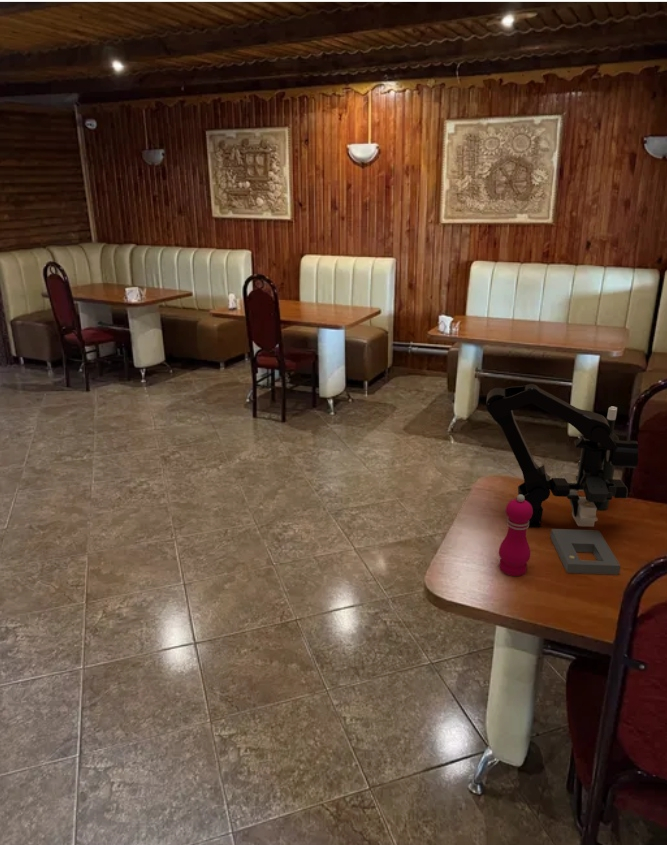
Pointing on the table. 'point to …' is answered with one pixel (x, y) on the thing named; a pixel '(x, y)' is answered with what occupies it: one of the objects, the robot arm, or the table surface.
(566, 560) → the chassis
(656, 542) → the table surface
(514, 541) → the pepper mill
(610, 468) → the wine bottle
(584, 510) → the servo
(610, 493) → the robot arm
